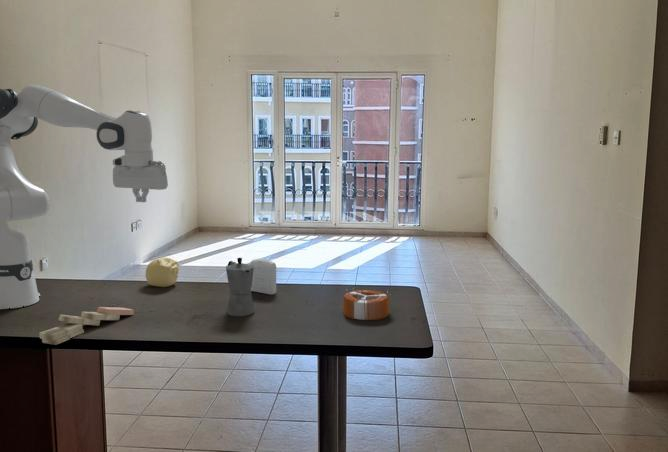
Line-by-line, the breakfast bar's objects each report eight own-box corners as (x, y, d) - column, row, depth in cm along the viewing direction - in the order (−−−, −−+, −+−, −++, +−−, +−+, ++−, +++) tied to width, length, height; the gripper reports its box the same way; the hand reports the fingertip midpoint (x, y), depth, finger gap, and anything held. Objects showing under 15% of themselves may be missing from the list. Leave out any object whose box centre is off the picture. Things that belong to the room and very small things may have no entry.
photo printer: (278, 292, 209) (278, 259, 207) (271, 295, 205) (270, 261, 203) (255, 288, 214) (255, 256, 212) (248, 291, 210) (247, 258, 208)
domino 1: (90, 323, 175) (58, 320, 167) (91, 317, 175) (59, 314, 167) (99, 325, 172) (66, 322, 164) (100, 320, 172) (68, 317, 164)
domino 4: (108, 317, 180) (80, 317, 171) (108, 312, 180) (81, 311, 172) (119, 320, 178) (92, 319, 169) (119, 315, 178) (93, 314, 169)
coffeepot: (263, 315, 183) (262, 259, 180) (235, 320, 178) (234, 263, 175) (242, 303, 196) (241, 251, 193) (216, 307, 191) (215, 254, 188)
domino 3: (71, 332, 168) (42, 344, 159) (70, 327, 168) (41, 338, 159) (84, 335, 166) (55, 346, 157) (83, 329, 166) (55, 341, 157)
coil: (350, 305, 195) (393, 309, 190) (336, 318, 181) (382, 323, 176) (350, 285, 194) (393, 289, 189) (336, 297, 179) (383, 302, 175)
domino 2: (70, 327, 168) (39, 338, 159) (70, 322, 168) (39, 332, 159) (82, 330, 166) (51, 341, 157) (82, 324, 165) (51, 335, 157)
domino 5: (121, 312, 185) (96, 312, 176) (122, 307, 185) (97, 307, 176) (133, 314, 183) (108, 314, 174) (134, 309, 183) (109, 309, 174)
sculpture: (173, 289, 212) (172, 260, 211) (141, 288, 213) (140, 260, 211) (183, 281, 223) (182, 254, 222) (152, 281, 224) (151, 254, 222)
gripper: (171, 160, 190) (172, 202, 192) (122, 159, 198) (124, 199, 200) (158, 161, 184) (160, 204, 186) (108, 160, 192) (110, 201, 194)
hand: (141, 202), depth 193 cm, fingers closed
